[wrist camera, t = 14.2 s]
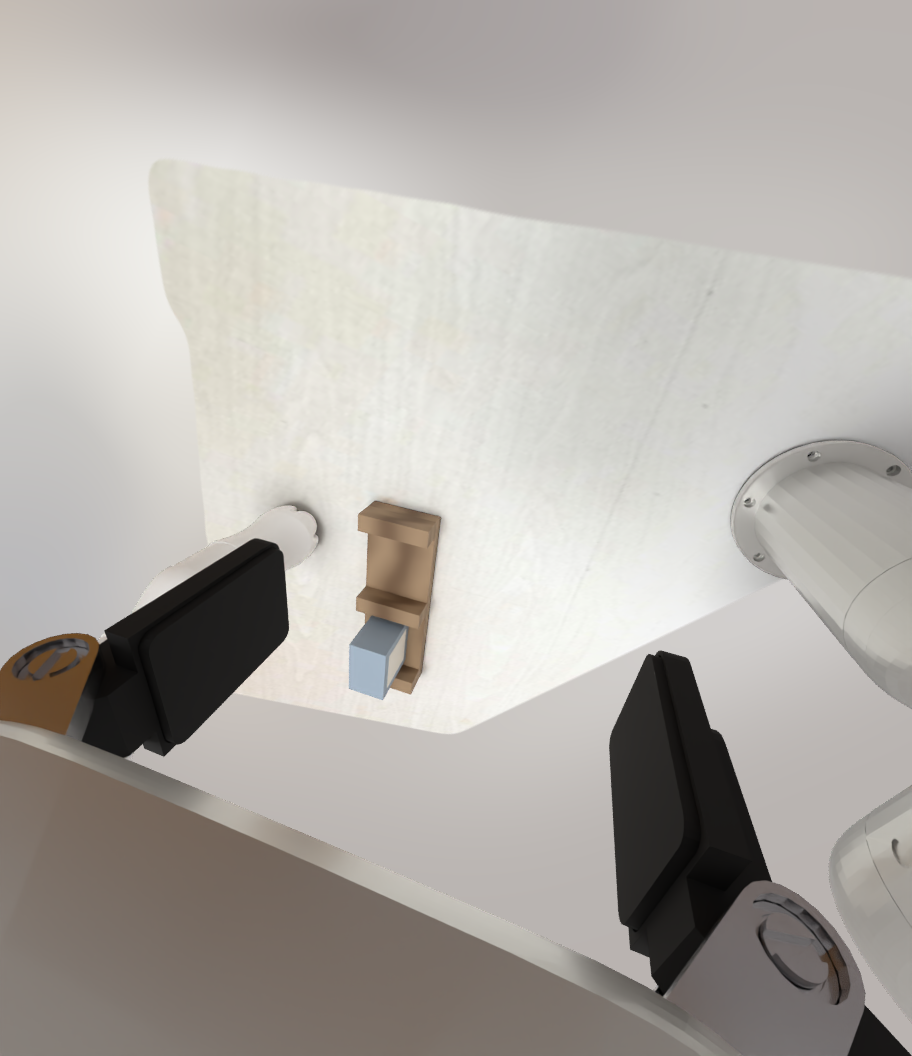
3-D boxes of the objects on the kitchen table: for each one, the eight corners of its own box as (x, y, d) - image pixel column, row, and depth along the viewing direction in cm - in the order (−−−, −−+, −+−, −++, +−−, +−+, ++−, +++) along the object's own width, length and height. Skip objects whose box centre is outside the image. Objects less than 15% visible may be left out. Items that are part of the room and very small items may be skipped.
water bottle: (290, 555, 55) (95, 701, 33) (266, 505, 52) (39, 628, 31) (334, 547, 52) (154, 702, 30) (311, 495, 50) (98, 621, 28)
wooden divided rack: (440, 516, 46) (428, 532, 43) (421, 672, 57) (410, 694, 54) (374, 500, 48) (358, 514, 44) (368, 655, 59) (354, 675, 55)
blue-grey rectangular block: (409, 617, 52) (386, 656, 45) (405, 659, 55) (383, 700, 49) (377, 608, 52) (349, 644, 46) (374, 649, 56) (348, 688, 49)
